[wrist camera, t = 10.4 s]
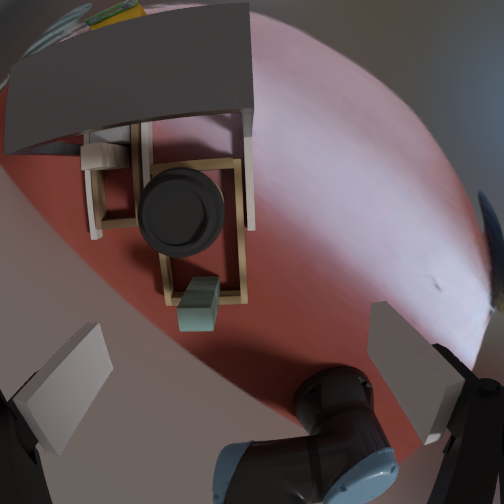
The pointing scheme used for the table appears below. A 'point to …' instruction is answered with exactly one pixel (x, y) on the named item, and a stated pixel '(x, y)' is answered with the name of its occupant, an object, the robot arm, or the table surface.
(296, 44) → the table surface
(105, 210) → the sled
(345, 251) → the table surface
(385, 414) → the table surface
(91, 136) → the grey block
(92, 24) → the crayon box
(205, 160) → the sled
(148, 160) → the lane rails
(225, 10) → the shelf
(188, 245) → the coffee cup
